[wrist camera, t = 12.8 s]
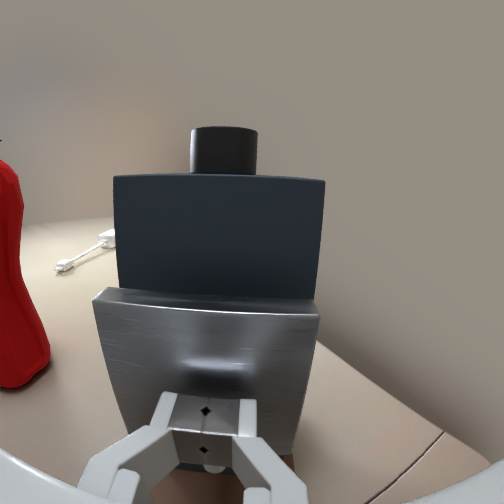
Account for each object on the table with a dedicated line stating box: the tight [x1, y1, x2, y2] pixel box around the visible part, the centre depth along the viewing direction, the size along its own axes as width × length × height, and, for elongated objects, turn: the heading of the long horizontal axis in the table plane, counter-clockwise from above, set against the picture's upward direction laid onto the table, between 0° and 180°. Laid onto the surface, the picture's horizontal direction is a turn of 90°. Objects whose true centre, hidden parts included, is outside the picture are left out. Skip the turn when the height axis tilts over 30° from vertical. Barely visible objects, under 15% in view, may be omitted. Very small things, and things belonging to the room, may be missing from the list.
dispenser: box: [113, 126, 325, 504], centre depth 14 cm, size 12×10×21 cm
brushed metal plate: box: [92, 287, 320, 455], centre depth 9 cm, size 1×7×7 cm, turn 90°
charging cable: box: [54, 229, 115, 271], centre depth 65 cm, size 5×32×3 cm, turn 176°
